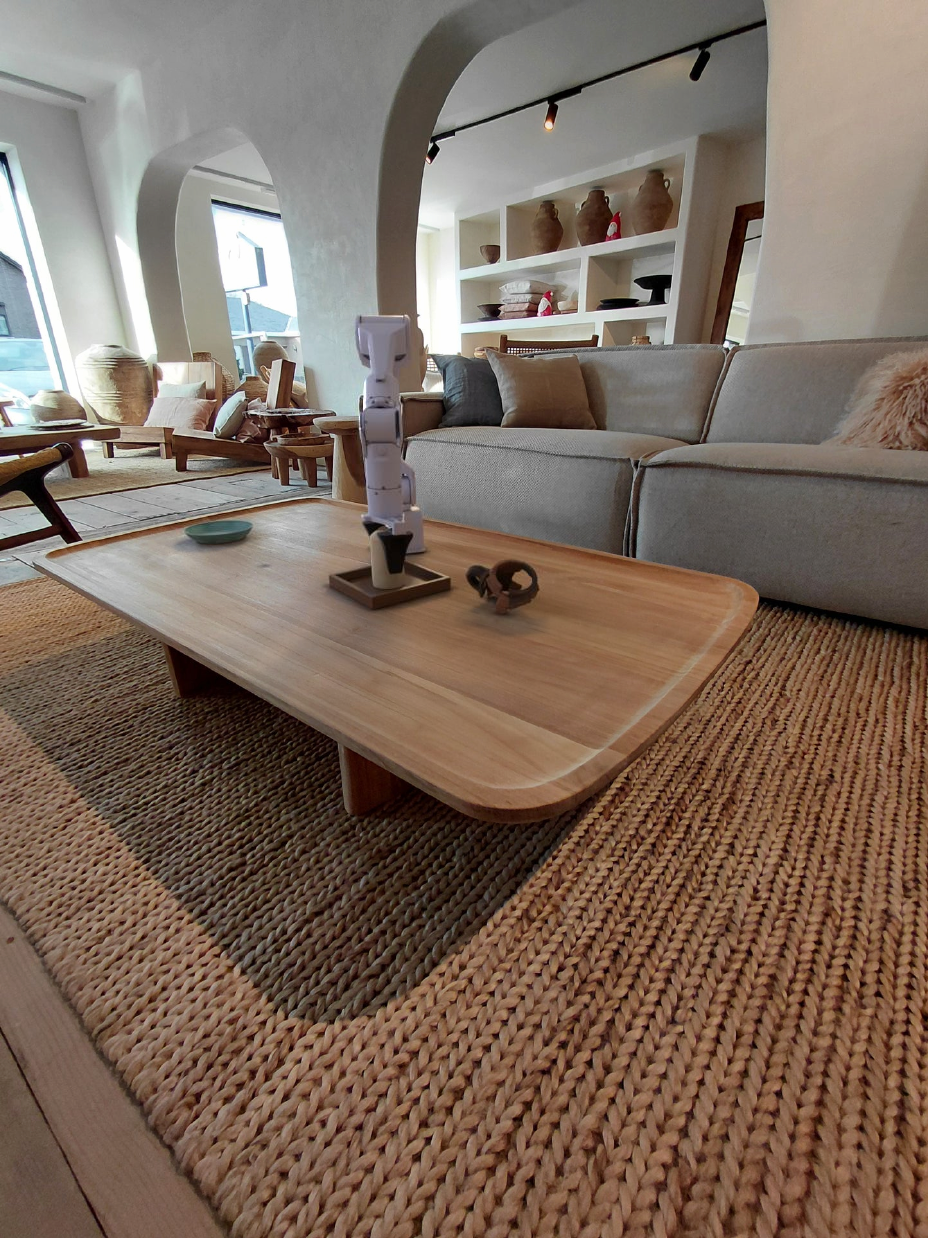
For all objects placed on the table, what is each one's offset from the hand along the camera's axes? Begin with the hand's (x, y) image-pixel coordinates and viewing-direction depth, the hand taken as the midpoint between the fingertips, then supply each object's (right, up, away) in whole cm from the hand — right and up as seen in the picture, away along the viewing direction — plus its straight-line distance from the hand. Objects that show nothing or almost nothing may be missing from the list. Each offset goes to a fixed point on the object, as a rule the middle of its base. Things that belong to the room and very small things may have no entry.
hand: (388, 566), depth 99 cm
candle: (0, -3, +1) cm, 3 cm away
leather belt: (+19, -7, -6) cm, 21 cm away
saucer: (-43, +9, +32) cm, 54 cm away
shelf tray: (0, -3, +1) cm, 4 cm away
